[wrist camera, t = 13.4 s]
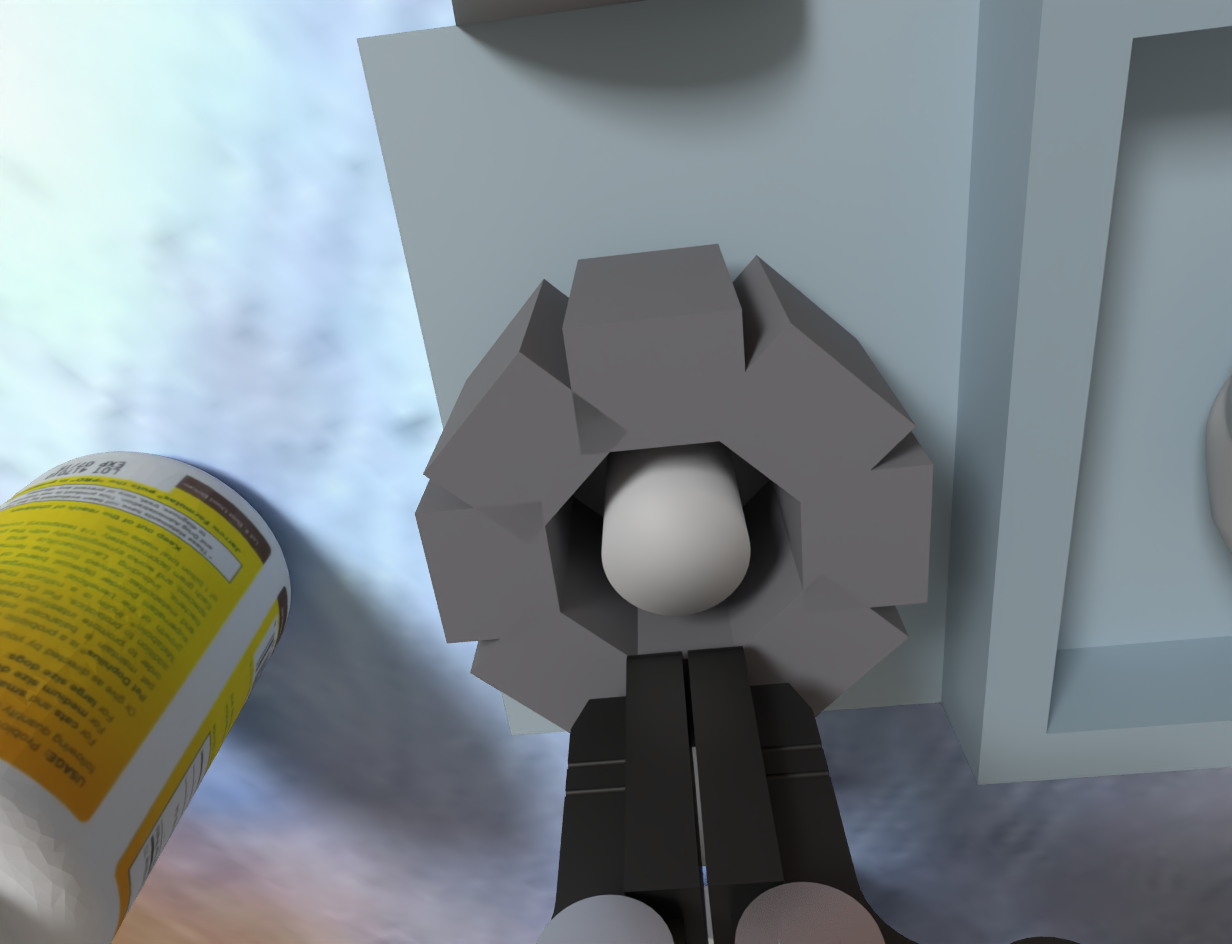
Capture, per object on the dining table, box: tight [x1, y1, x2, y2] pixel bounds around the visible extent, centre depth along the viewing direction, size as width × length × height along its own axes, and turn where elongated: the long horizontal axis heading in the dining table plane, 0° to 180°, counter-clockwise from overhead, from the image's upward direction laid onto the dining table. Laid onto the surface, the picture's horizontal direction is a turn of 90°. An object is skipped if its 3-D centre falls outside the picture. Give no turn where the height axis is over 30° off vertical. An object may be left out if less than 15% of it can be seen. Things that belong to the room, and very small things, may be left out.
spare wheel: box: [415, 244, 933, 747], centre depth 12 cm, size 6×6×3 cm
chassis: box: [357, 0, 1232, 866], centre depth 13 cm, size 15×20×6 cm
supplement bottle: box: [0, 451, 291, 944], centre depth 14 cm, size 6×6×10 cm
